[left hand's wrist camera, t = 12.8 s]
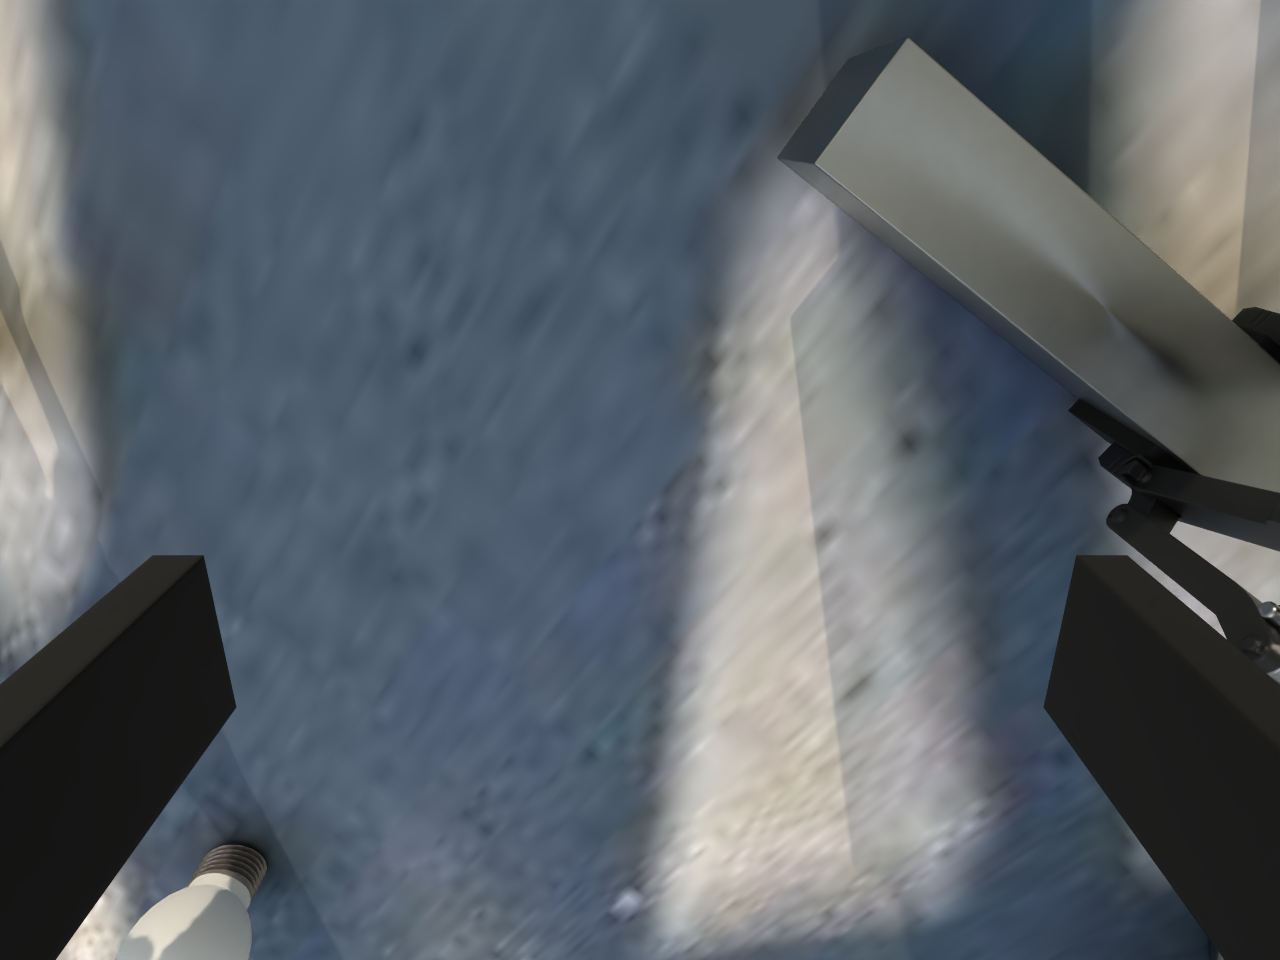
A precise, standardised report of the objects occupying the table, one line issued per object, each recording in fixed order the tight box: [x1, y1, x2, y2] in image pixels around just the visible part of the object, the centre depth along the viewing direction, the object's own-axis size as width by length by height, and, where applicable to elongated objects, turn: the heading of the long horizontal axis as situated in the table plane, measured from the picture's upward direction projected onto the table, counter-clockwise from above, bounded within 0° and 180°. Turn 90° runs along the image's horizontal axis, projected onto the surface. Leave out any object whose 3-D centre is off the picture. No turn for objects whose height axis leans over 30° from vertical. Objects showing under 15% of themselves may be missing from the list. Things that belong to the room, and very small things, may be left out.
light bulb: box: [115, 845, 267, 960], centre depth 49 cm, size 7×7×11 cm
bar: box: [778, 37, 1280, 493], centre depth 35 cm, size 24×5×8 cm, turn 55°
